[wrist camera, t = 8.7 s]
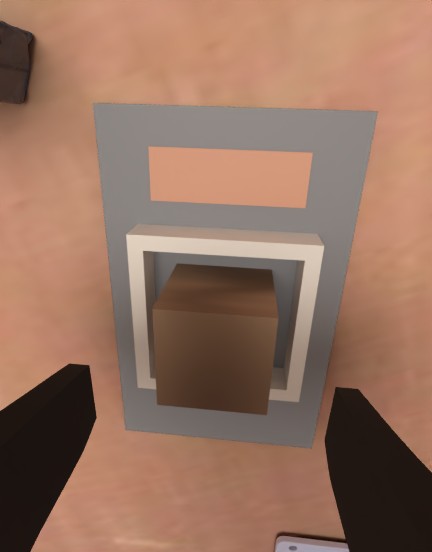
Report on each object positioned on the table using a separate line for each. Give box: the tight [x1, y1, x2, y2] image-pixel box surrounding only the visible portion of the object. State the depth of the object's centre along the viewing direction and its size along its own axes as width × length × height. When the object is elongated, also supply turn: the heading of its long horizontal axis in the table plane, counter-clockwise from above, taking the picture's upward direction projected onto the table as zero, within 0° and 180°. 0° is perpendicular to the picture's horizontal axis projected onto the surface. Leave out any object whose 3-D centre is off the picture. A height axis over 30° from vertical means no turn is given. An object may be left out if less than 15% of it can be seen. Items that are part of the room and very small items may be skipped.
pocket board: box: [93, 103, 378, 449], centre depth 15 cm, size 10×16×2 cm, turn 178°
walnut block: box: [152, 263, 279, 415], centre depth 14 cm, size 4×4×4 cm
